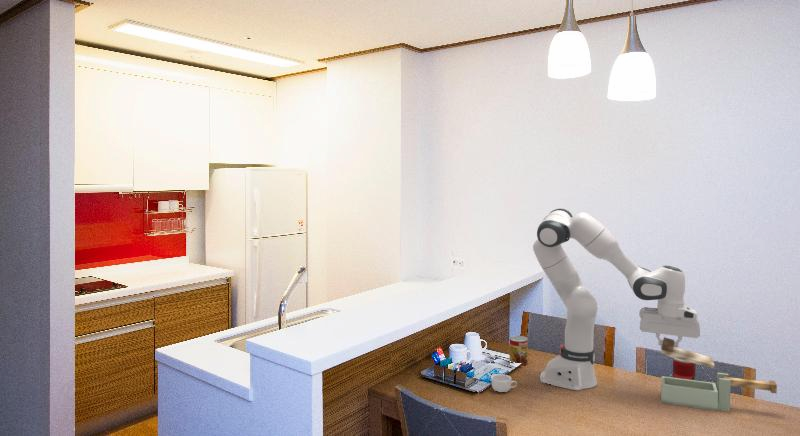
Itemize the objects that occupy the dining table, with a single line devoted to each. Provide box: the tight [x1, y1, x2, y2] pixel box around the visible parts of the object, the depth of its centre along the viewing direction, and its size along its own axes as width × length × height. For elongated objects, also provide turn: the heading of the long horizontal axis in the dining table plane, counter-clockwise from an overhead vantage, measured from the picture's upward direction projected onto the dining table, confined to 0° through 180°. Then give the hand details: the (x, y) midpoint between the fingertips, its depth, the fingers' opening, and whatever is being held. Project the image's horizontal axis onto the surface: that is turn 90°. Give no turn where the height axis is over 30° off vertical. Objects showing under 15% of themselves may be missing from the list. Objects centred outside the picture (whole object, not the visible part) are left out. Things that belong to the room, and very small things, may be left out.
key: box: [724, 376, 778, 395], centre depth 193 cm, size 16×4×3 cm, turn 66°
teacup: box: [490, 373, 518, 393], centre depth 215 cm, size 10×8×5 cm
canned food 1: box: [509, 335, 529, 367], centre depth 243 cm, size 8×8×12 cm
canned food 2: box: [672, 357, 697, 380], centre depth 218 cm, size 8×8×11 cm
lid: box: [660, 337, 715, 369], centre depth 201 cm, size 17×9×5 cm, turn 66°
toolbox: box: [660, 372, 732, 413], centre depth 201 cm, size 22×9×12 cm, turn 66°
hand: (668, 345), depth 203 cm, fingers closed on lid, 4 cm apart
